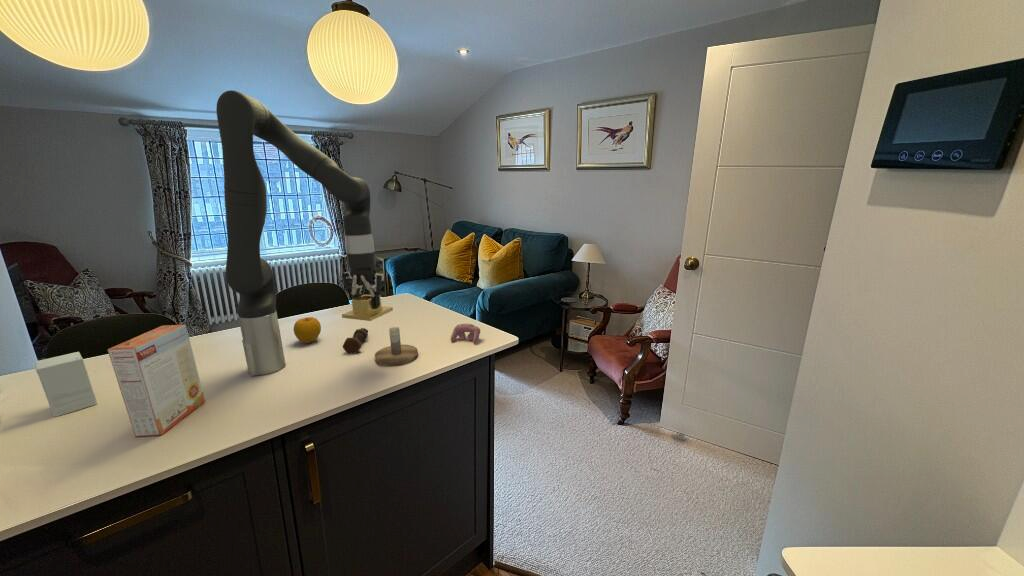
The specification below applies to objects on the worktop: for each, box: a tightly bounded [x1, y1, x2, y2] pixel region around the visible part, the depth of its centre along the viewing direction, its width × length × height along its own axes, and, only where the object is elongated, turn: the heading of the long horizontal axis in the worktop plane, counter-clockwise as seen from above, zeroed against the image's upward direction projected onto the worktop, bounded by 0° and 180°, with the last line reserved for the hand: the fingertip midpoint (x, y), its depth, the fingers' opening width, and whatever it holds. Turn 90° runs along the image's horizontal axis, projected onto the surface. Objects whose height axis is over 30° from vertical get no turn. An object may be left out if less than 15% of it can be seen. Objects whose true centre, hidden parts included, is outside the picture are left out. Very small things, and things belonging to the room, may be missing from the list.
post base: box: [374, 326, 419, 367], centre depth 120 cm, size 13×13×10 cm
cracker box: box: [107, 324, 206, 438], centre depth 87 cm, size 14×6×21 cm, turn 4°
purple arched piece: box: [450, 323, 481, 345], centre depth 133 cm, size 10×5×7 cm, turn 75°
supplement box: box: [35, 351, 98, 418], centre depth 94 cm, size 7×7×13 cm
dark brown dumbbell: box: [342, 327, 369, 355], centre depth 131 cm, size 6×5×15 cm
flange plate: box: [341, 294, 394, 322], centre depth 112 cm, size 10×10×5 cm
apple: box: [293, 316, 322, 344], centre depth 133 cm, size 8×8×9 cm
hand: (367, 307), depth 112 cm, fingers closed on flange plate, 5 cm apart
